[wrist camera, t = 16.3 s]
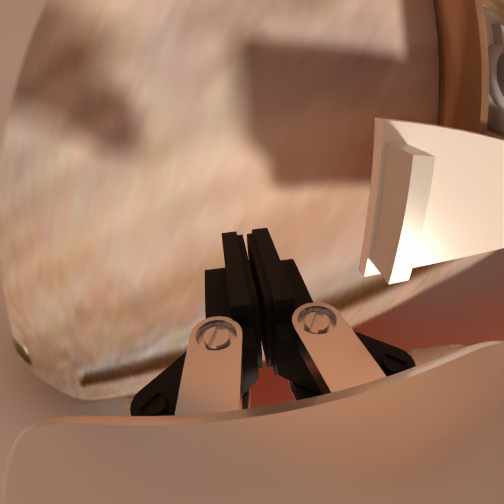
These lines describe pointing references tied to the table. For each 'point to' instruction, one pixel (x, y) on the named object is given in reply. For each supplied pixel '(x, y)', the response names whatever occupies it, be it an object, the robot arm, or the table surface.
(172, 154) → the table surface
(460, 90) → the housing
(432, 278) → the table surface
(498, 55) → the grey cylinder
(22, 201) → the table surface
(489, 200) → the lid
